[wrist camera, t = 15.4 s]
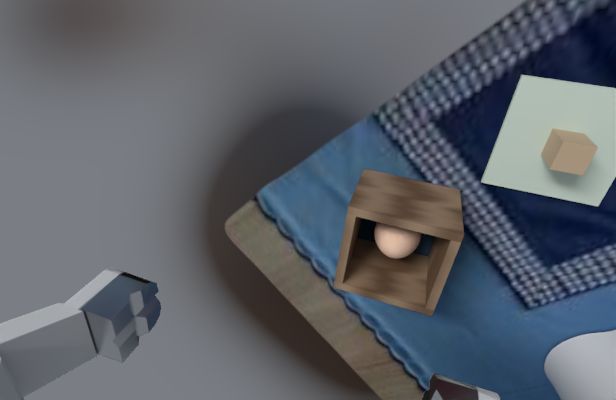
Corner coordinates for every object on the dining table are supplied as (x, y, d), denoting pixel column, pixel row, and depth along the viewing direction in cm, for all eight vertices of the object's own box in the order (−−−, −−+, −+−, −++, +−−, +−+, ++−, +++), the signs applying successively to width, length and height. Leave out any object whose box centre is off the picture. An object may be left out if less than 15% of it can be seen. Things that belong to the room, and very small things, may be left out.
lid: (658, 93, 35) (687, 107, 31) (594, 202, 42) (611, 225, 38) (520, 73, 38) (530, 83, 34) (480, 178, 45) (484, 198, 40)
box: (460, 189, 45) (464, 235, 37) (433, 263, 52) (431, 316, 43) (364, 168, 48) (348, 206, 39) (349, 241, 54) (333, 287, 46)
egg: (431, 213, 48) (429, 247, 42) (407, 242, 51) (402, 278, 45) (392, 191, 48) (385, 222, 42) (370, 222, 51) (361, 254, 45)
